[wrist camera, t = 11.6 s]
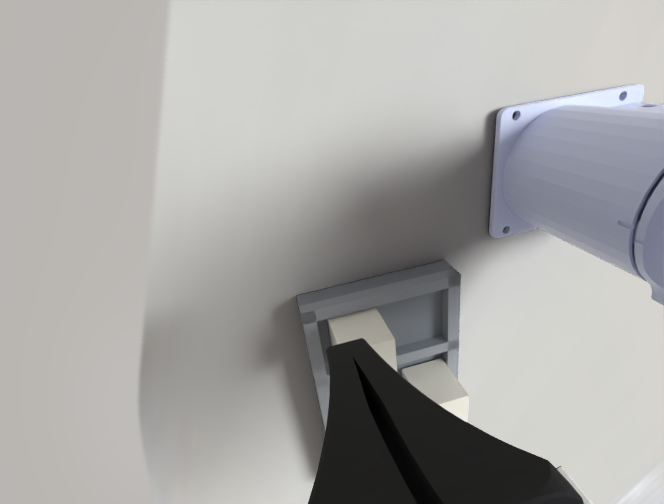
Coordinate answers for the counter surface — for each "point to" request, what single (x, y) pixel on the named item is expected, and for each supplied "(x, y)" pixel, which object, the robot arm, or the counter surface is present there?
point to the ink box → (574, 485)
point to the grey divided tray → (389, 318)
